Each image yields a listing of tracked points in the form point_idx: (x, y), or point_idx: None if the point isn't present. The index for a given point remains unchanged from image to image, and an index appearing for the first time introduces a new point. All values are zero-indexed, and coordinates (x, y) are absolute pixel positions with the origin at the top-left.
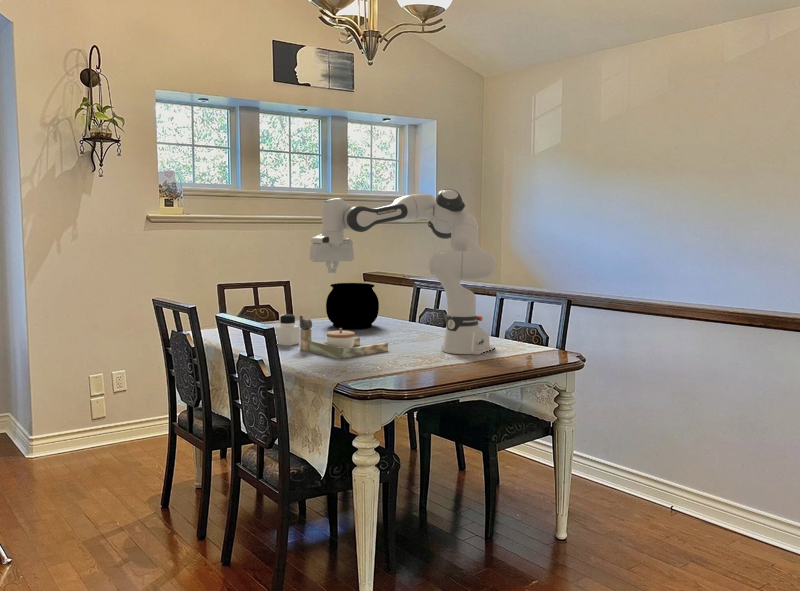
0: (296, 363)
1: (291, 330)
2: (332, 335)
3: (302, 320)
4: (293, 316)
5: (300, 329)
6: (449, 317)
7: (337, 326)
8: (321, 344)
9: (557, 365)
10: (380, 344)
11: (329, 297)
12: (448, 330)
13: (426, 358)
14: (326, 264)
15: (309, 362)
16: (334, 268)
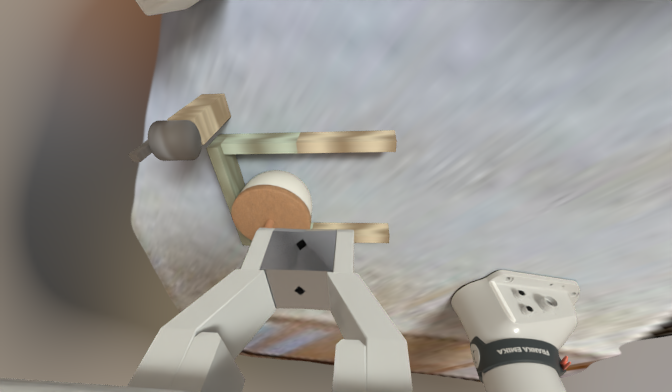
0: (152, 211)
1: (161, 10)
2: (237, 226)
3: (151, 152)
4: None
5: (167, 119)
6: (481, 369)
7: None
8: (223, 191)
9: (474, 380)
10: (363, 242)
11: None
12: (475, 336)
13: (386, 298)
14: (172, 335)
15: (180, 218)
16: (322, 307)
